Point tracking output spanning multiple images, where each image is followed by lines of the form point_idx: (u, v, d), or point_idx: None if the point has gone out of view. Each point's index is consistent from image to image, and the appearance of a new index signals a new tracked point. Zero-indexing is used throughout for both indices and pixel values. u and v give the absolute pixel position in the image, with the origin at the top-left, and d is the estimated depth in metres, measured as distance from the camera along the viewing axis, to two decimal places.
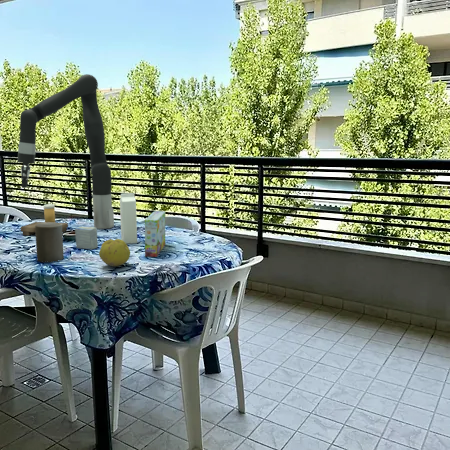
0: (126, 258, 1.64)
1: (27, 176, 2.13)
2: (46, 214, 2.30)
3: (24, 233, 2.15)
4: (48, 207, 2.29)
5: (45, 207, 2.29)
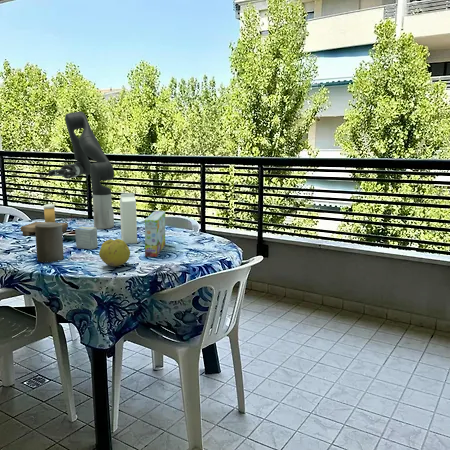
0: (126, 258, 1.64)
1: (54, 170, 2.44)
2: (46, 214, 2.30)
3: (24, 233, 2.15)
4: (48, 207, 2.29)
5: (45, 207, 2.29)
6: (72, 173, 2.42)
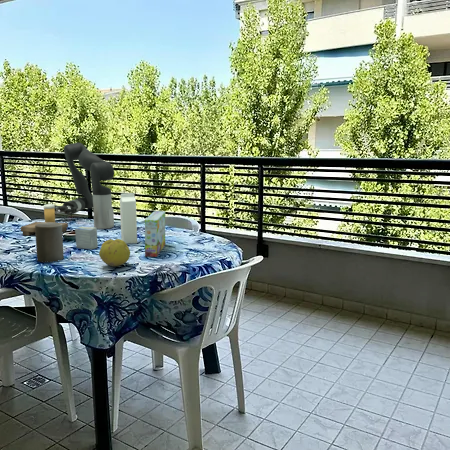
0: (126, 258, 1.64)
1: (55, 207, 2.46)
2: (46, 214, 2.30)
3: (24, 233, 2.15)
4: (48, 207, 2.29)
5: (45, 207, 2.29)
6: (73, 210, 2.44)
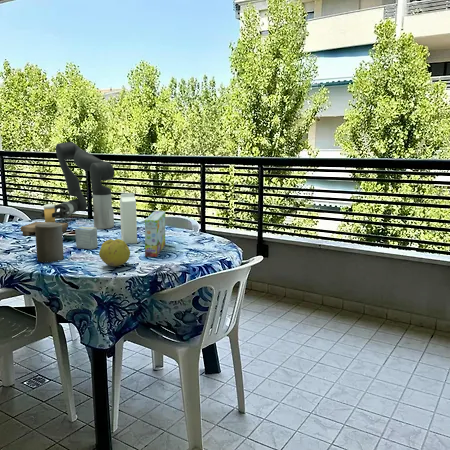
0: (126, 258, 1.64)
1: None
2: (46, 214, 2.30)
3: (24, 233, 2.15)
4: (48, 207, 2.29)
5: (45, 207, 2.29)
6: (60, 213, 2.34)
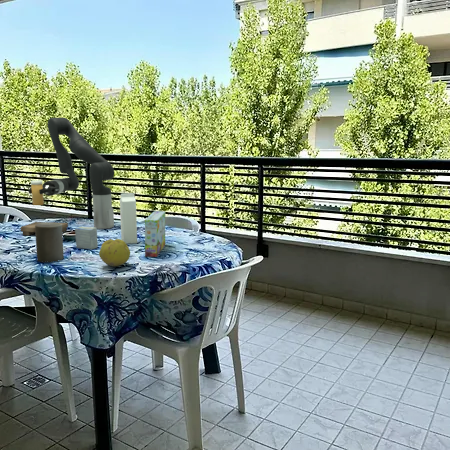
0: (126, 258, 1.64)
1: None
2: (33, 190, 2.17)
3: (24, 233, 2.15)
4: (35, 183, 2.16)
5: (32, 183, 2.16)
6: (49, 190, 2.21)
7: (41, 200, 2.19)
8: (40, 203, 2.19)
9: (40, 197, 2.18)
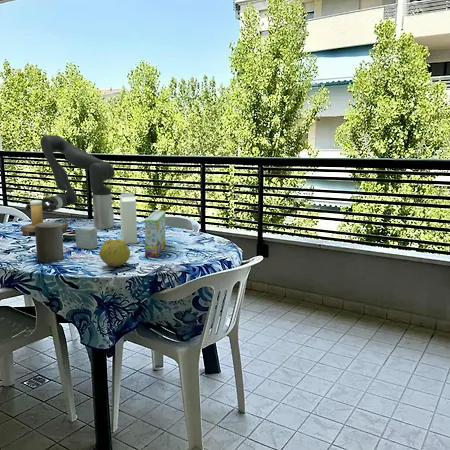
0: (126, 258, 1.64)
1: None
2: (33, 211, 2.16)
3: (24, 233, 2.15)
4: (35, 203, 2.15)
5: (32, 203, 2.15)
6: (52, 207, 2.20)
7: (40, 220, 2.18)
8: None
9: (39, 217, 2.18)
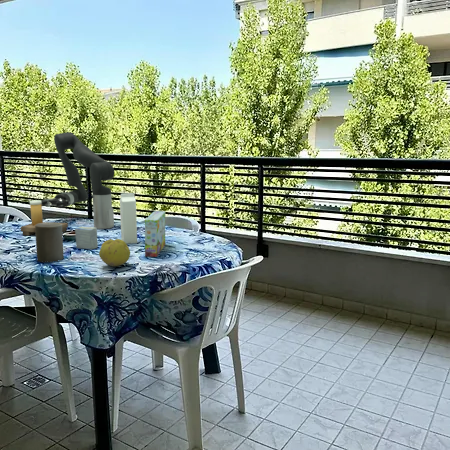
0: (126, 258, 1.64)
1: (46, 200, 2.35)
2: (32, 211, 2.16)
3: (24, 233, 2.15)
4: (34, 203, 2.15)
5: (31, 203, 2.15)
6: (65, 203, 2.33)
7: (40, 220, 2.18)
8: None
9: (39, 217, 2.18)
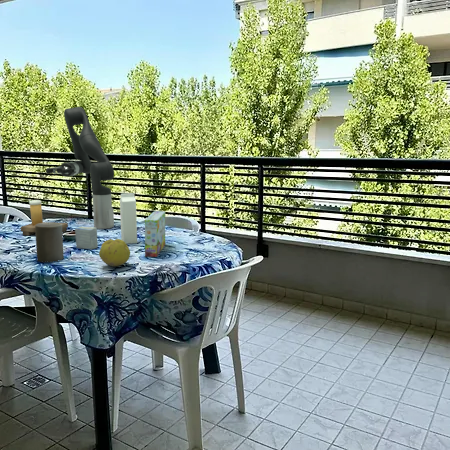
0: (126, 258, 1.64)
1: (52, 168, 2.40)
2: (32, 211, 2.16)
3: (24, 233, 2.15)
4: (34, 203, 2.15)
5: (31, 203, 2.15)
6: (70, 170, 2.37)
7: (40, 220, 2.18)
8: None
9: (39, 217, 2.18)
